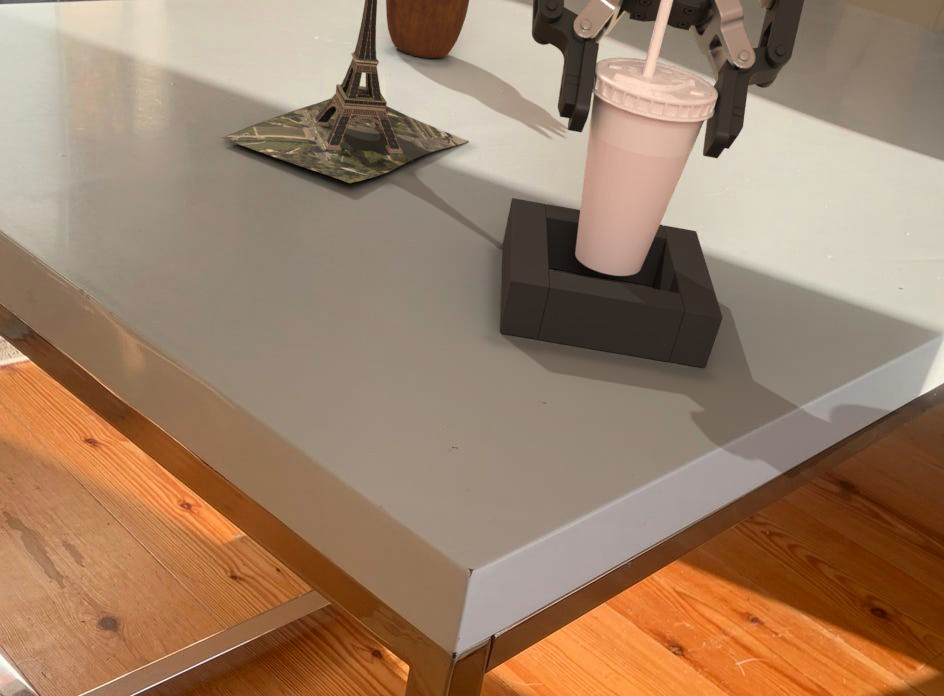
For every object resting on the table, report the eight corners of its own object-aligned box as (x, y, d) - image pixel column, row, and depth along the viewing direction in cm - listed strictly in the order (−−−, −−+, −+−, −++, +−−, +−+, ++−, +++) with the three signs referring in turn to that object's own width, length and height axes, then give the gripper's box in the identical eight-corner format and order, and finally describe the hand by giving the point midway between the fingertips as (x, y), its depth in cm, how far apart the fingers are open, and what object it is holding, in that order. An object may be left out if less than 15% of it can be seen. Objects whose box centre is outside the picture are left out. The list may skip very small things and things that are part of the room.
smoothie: (532, 233, 62) (592, -42, 54) (632, 233, 65) (705, -30, 56) (581, 289, 58) (654, -1, 49) (686, 286, 60) (774, 10, 52)
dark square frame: (681, 277, 68) (696, 230, 66) (705, 368, 59) (723, 317, 57) (502, 245, 67) (511, 197, 65) (499, 333, 58) (510, 280, 56)
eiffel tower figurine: (350, 98, 83) (370, -107, 74) (469, 141, 80) (504, -67, 71) (220, 143, 72) (227, -91, 63) (353, 195, 69) (379, -43, 60)
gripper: (564, -260, 53) (514, 71, 51) (856, -198, 54) (817, 129, 52) (539, -147, 60) (495, 145, 59) (796, -94, 62) (760, 195, 60)
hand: (647, 136), depth 55 cm, fingers closed on smoothie, 6 cm apart
